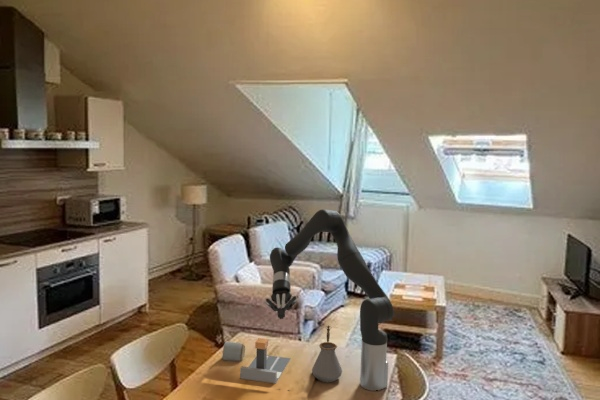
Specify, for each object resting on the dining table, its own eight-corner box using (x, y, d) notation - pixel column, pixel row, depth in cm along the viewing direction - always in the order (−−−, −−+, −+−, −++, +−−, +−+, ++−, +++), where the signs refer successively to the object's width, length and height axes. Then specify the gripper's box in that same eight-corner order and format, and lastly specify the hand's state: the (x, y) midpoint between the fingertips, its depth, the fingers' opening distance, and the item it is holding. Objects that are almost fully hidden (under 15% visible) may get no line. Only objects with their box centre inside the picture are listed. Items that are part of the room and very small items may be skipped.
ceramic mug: (242, 365, 198) (242, 346, 198) (222, 364, 199) (222, 345, 198) (246, 354, 209) (247, 336, 208) (227, 353, 209) (227, 335, 209)
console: (257, 356, 206) (258, 344, 205) (290, 361, 203) (290, 348, 202) (239, 381, 185) (239, 368, 184) (275, 386, 182) (276, 373, 181)
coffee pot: (342, 385, 183) (343, 347, 182) (311, 384, 184) (312, 345, 182) (341, 360, 205) (342, 325, 203) (313, 359, 205) (314, 324, 204)
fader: (258, 371, 190) (258, 338, 188) (267, 373, 189) (268, 339, 187) (254, 376, 186) (255, 342, 184) (264, 377, 185) (265, 343, 184)
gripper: (264, 280, 206) (263, 312, 192) (296, 277, 206) (297, 309, 192) (267, 292, 211) (265, 325, 197) (298, 289, 210) (299, 322, 196)
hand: (281, 317), depth 194 cm, fingers closed
